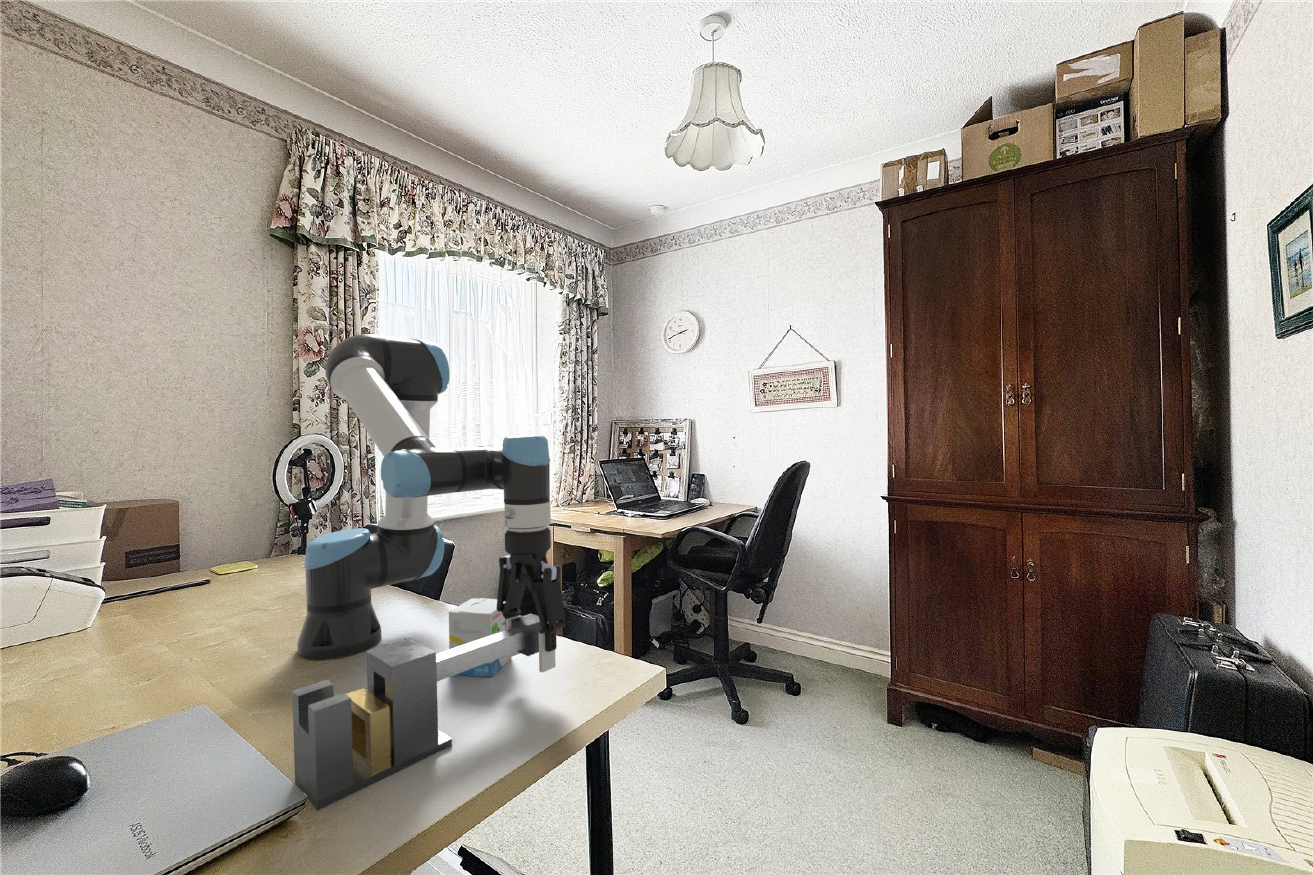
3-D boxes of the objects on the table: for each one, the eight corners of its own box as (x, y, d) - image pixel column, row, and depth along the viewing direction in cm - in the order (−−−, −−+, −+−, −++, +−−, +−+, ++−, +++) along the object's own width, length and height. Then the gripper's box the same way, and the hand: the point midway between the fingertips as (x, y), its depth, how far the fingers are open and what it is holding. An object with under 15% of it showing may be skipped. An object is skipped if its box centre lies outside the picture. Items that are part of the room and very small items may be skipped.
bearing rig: (295, 782, 70) (291, 673, 70) (424, 726, 83) (422, 633, 83) (317, 810, 65) (314, 692, 65) (452, 745, 78) (449, 647, 78)
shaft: (387, 695, 77) (386, 660, 77) (531, 642, 96) (530, 613, 96) (401, 706, 74) (400, 669, 74) (547, 648, 93) (547, 619, 93)
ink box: (491, 678, 99) (489, 613, 99) (448, 674, 101) (446, 611, 100) (512, 658, 107) (511, 598, 107) (472, 655, 109) (471, 596, 109)
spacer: (346, 753, 75) (344, 694, 75) (364, 745, 77) (362, 688, 76) (371, 776, 70) (370, 713, 69) (390, 767, 72) (389, 706, 71)
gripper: (473, 524, 96) (476, 652, 97) (549, 539, 83) (552, 688, 83) (509, 518, 102) (512, 639, 103) (587, 531, 88) (589, 671, 89)
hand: (530, 661), depth 93 cm, fingers open, 8 cm apart
